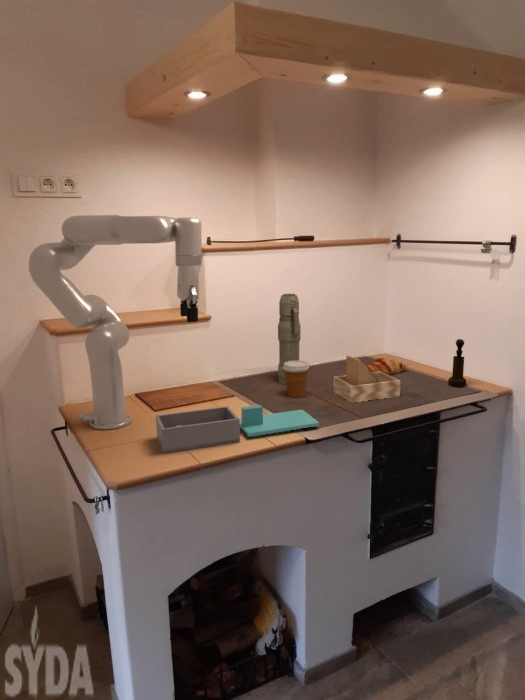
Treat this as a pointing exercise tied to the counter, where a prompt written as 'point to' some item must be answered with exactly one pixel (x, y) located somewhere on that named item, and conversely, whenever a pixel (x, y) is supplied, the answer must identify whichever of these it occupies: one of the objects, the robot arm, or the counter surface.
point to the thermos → (288, 332)
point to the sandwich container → (358, 373)
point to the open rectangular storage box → (368, 388)
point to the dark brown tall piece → (458, 367)
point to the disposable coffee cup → (296, 377)
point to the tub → (197, 429)
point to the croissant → (386, 366)
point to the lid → (273, 421)
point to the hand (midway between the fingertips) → (189, 318)
